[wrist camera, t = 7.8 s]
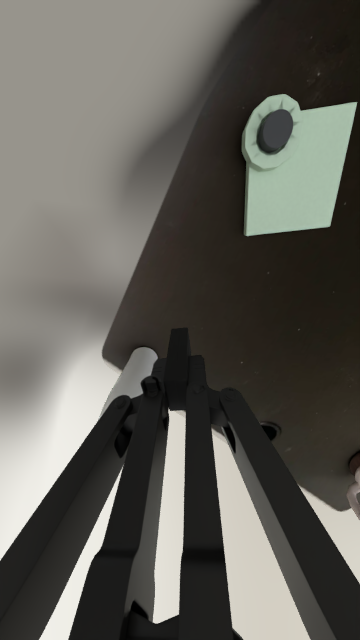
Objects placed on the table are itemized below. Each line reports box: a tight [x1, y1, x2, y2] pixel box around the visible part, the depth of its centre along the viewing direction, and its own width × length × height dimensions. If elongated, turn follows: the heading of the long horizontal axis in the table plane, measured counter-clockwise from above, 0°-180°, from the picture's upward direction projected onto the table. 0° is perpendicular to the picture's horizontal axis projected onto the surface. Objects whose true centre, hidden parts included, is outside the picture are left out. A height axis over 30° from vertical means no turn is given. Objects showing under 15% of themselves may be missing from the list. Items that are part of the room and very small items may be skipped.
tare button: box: [258, 109, 293, 153], centre depth 20 cm, size 3×3×2 cm
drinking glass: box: [98, 347, 158, 420], centre depth 32 cm, size 7×7×15 cm
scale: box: [242, 94, 357, 236], centre depth 23 cm, size 13×12×3 cm
